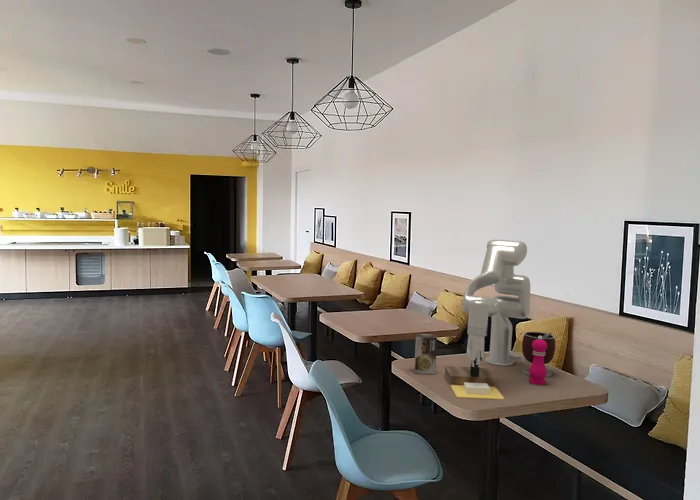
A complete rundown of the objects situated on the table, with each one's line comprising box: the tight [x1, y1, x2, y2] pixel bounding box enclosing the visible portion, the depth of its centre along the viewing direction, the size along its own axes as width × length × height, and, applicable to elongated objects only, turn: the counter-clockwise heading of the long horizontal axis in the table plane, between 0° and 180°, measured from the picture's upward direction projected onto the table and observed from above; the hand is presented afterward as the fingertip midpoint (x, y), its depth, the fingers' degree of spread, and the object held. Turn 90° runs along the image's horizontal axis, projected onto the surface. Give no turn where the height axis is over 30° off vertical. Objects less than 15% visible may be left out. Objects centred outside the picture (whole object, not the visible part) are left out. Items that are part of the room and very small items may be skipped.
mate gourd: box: [521, 331, 556, 378], centre depth 244 cm, size 16×14×20 cm
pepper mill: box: [528, 336, 548, 386], centre depth 230 cm, size 7×7×20 cm
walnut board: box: [444, 365, 496, 387], centre depth 229 cm, size 18×14×4 cm
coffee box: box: [413, 333, 438, 375], centre depth 240 cm, size 9×6×16 cm
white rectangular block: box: [463, 382, 490, 395], centre depth 215 cm, size 9×6×2 cm, turn 89°
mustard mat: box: [449, 384, 506, 401], centre depth 215 cm, size 18×14×1 cm
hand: (474, 376), depth 220 cm, fingers closed
